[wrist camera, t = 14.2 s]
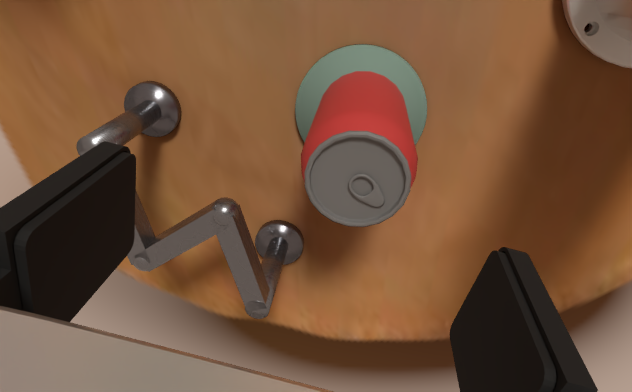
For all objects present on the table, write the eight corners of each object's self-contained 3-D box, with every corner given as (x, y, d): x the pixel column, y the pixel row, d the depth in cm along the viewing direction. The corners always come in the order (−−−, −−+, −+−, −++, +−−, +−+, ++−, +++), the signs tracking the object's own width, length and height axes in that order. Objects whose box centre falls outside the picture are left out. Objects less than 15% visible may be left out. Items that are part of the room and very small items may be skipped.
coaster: (448, 68, 31) (449, 70, 31) (397, 185, 36) (397, 188, 35) (316, 25, 31) (315, 26, 30) (283, 148, 36) (281, 151, 35)
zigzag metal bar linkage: (339, 140, 35) (328, 195, 26) (296, 265, 41) (277, 339, 33) (131, 73, 34) (53, 108, 26) (121, 210, 41) (57, 273, 32)
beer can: (360, 168, 35) (354, 255, 24) (301, 111, 33) (268, 179, 23) (424, 114, 32) (448, 186, 22) (364, 49, 31) (359, 93, 20)
